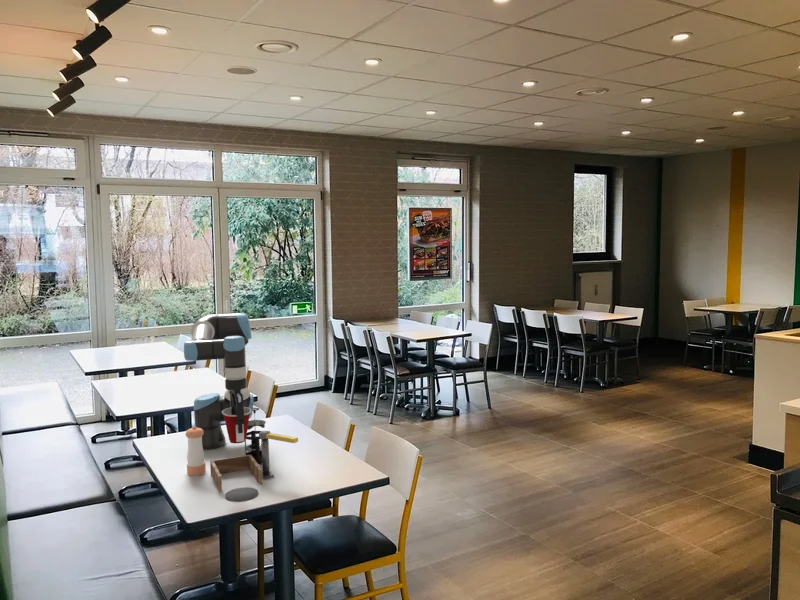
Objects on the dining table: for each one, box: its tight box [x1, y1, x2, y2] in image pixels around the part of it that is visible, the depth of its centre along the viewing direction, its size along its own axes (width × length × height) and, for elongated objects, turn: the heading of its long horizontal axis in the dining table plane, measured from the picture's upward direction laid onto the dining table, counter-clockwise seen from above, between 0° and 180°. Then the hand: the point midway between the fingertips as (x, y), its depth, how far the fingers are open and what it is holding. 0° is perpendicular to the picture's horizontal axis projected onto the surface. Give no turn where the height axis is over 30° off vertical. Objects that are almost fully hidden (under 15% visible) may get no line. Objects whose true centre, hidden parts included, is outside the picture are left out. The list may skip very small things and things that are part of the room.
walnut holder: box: [209, 454, 263, 493], centre depth 255 cm, size 20×16×6 cm
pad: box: [224, 486, 259, 502], centre depth 240 cm, size 12×12×1 cm
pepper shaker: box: [185, 425, 207, 476], centre depth 264 cm, size 7×7×19 cm
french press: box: [244, 407, 266, 465], centre depth 277 cm, size 12×9×23 cm
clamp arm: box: [258, 430, 299, 444], centre depth 253 cm, size 4×18×2 cm, turn 59°
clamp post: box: [260, 439, 275, 480], centre depth 258 cm, size 5×5×16 cm
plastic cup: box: [222, 407, 252, 444], centre depth 241 cm, size 11×11×12 cm
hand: (238, 438), depth 242 cm, fingers closed on plastic cup, 8 cm apart
